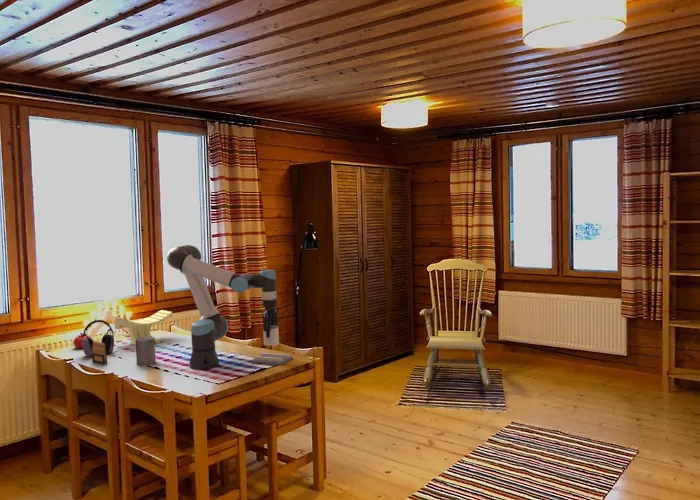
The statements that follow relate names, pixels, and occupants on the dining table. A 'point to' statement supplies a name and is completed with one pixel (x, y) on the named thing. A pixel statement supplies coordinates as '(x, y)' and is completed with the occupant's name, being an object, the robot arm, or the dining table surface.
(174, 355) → the dining table surface
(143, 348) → the pillar candle
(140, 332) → the slatted curved stool
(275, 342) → the grey rectangular block
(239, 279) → the robot arm
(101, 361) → the ammunition clip
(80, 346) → the pomegranate
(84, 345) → the headphones
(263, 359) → the end holder
